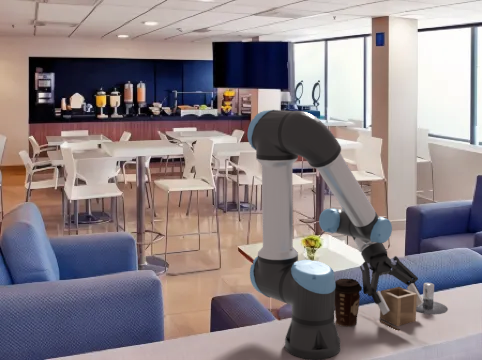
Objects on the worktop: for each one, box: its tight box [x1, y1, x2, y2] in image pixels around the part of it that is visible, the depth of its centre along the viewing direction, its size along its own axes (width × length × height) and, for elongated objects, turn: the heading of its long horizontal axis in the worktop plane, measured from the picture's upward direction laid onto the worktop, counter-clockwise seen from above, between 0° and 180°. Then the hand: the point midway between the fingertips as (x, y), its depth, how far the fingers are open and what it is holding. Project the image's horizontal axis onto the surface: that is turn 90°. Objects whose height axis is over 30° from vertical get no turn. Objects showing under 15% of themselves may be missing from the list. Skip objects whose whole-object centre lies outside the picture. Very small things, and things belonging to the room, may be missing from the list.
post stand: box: [416, 282, 449, 315], centre depth 189 cm, size 12×12×9 cm
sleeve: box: [379, 286, 417, 331], centre depth 180 cm, size 7×7×10 cm
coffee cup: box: [334, 278, 363, 327], centre depth 181 cm, size 9×8×13 cm
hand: (403, 308), depth 178 cm, fingers open, 13 cm apart
